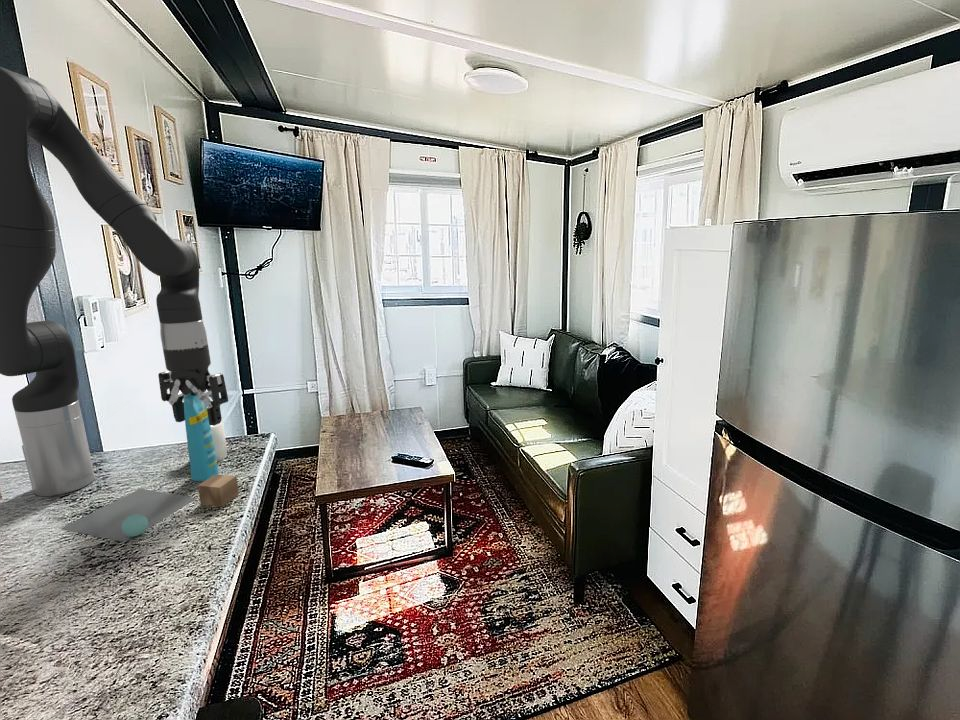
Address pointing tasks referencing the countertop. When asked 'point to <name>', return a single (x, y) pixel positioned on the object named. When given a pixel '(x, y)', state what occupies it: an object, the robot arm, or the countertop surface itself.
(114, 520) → the plate
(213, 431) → the white rounded cylinder
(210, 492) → the walnut block
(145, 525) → the teal ball
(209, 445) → the tube
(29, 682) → the countertop surface
